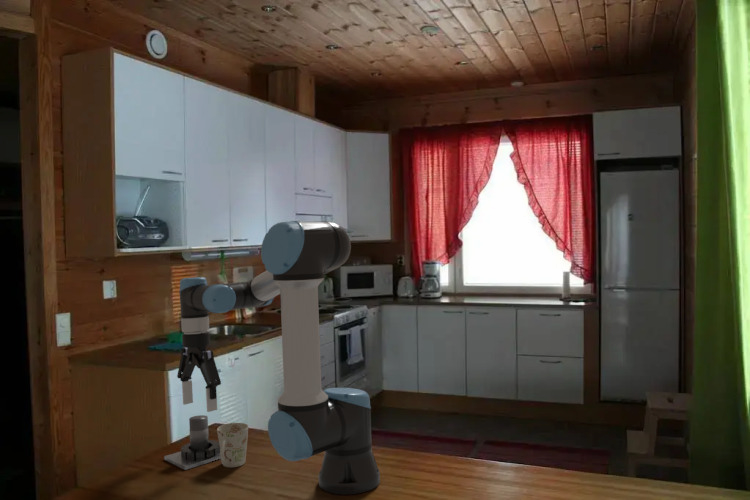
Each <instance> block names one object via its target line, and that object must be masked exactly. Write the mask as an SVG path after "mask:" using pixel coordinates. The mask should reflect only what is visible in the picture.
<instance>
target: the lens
mask: <svg viewBox="0 0 750 500" xmlns="http://www.w3.org/2000/svg"><path fill="white" fill-rule="evenodd" d="M188 421H189V423H188V424H189V443H190V447H191V450H204V449H207V448H209V440H210V439H209V418H208V415H193V416H190V417H189V420H188Z"/></svg>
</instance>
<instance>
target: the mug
mask: <svg viewBox="0 0 750 500" xmlns="http://www.w3.org/2000/svg"><path fill="white" fill-rule="evenodd" d="M216 433H217V439H218V442H219V446H220V452H221V459H220V462H221V465H222V466H223V467H225V468H237V467H240V466H243V465H245V463H246V457H247V448H248V447H247V446H248V438H249V437H248V436H249V425H248V424H247V423H245V422H231V423H230V422H229V423H226V424H222V425H219V426H218V427H217V428H216Z"/></svg>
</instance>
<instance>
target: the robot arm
mask: <svg viewBox="0 0 750 500" xmlns="http://www.w3.org/2000/svg"><path fill="white" fill-rule="evenodd" d="M351 242H352V241H351V238H350V236H349V234H348V232H347V231H346V230H345V228H343V226H341V225H339V224H338V223H336V222H333V221H330V220H329V221H328V220H322V221H321V220H320V221H319V220H318V221H317V220H315V221H310V220H308V221H307V220H290V221H282V222H280V221H279V222H277V223H275V224H274V225H272V226H271V227H270V228H269V229H268V231H267V232H266V234H265V235H264V237H263V241H262V243H261V249H260V251H261V252H260V255H261V261H262V264H263V265H264V268H265V271H263V272H262V273H260V274H258V275H257V276H255V277H253V278H251V279H250V280H248V281H239V282H238V281H237V282H229V283H220V284H219V283H218V284H208V280H207V277H202V276H199V277H185V278H181V279H180V281H179V304H180V305H179V307H180V316H181V317H180V322H181V332H182V335H181V337H182V339H181V340H182V347H181V350H180V351H181V353H180V354H181V355H180V359H179V366H178V369H177V375H176V378H177V379H180V381H181V387H182V389H181V390H182V405H184V406H186V405H189V404H192V403H194V399H193V398H194V397H193V396H194V394H193V378H192V375H193V373H194V369H195V368H196V367H197V368H198V369H199V370H200V372H201V375H202V377H203V379H204V382H205V384H206V386H205V396H206V397H205V398H206V411H207V412H208V413H209V412H213V411H217V410H218V400H217V397H218V396H217V387H218V386H221V384H222V381H221V378H220V375H219V372H218V368H217V364H216V361H215V357H214V356H215V355H214V351H213V349H212V350H207V347H208V346H210V345H211V334H210V332H209V330H210V318H209V316H210V313H214V314H221V313H222V314H223V313H224V314H225V313H228V312H229V311H236V310H242V309H252V308H261V307H265V306H269V305H271V304H272V303H273V300H275V297H277V296H279V295H280V313H281V314H280V316H281V318H280V319H281V343H282V344H281V345H282V369H283V371H282V373H283V393H282V394H281V395H280V396H279V397H278V399H277V411H275V412H274V413H272V414H271V415H270V418H269V420H268V423H267V431H268V437H269V440H270V443H271V445H272V447H273V448H274V449H275V451H276V453H278V455H279V456H280V457H282V458H283V459H285V460H287V461H288V462H298V461H301V460H307V459H310V458H311V457H314V456H316V455H318V454H322V453H324V454H323V459H322V464H321V468H320V471H319V472H318V487H319V488H320V489H321V490H323V491H325V492H327V493H330V494H335V495H357V494H361V493H362V494H363V493H366V492H369V491H372V490H373V489H375V488H377V487H378V486H379V485H380V484H381V483H380V482H381V478H380V477H381V476H380V475H381V474H380V469H379V468H378V465H377V461H376V459H375V456H374V452H373V445H372V414H371V413H372V410H371V409H372V406H371V401H370V395H369V394H368V392H366V391H365V390H363V389H359V388H351V387H329V388H326V389H324V390H323V389H322V371H321V369H322V367H321V341H320V340H321V339H320V314H319V312H320V311H319V285H320V284H321V283H322V282H323V281H324V279H325V274H329V273H330V272H332V271H334V270H336V269H338V268H340V267H341V266H342V265H344V264H345V263H346V262H347V260H348V259H349V257H350V255H351V251H352V250H351V249H352V245H351Z"/></svg>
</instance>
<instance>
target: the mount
mask: <svg viewBox="0 0 750 500" xmlns="http://www.w3.org/2000/svg"><path fill="white" fill-rule="evenodd" d="M163 458H164V461H166V462H167V463H170V464H172V465H174V466H175V467H178V468H180V469H182V470H184V471H187V470H190V469H193V468H197V467H200V466H203V465H206V464H209V463H213V462H215V460H216V461H218V459H219V460H221V452H220V446H219V441H217V440H213V439H212V440H210V439H209V448H207V449H204V450H191V447H190V442H188V443H186V444H184V445H182V446H181V448H180V451H178V452H174V453H171V454H168V455H167V454H166V455H164V456H163ZM212 461H213V462H212Z"/></svg>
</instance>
